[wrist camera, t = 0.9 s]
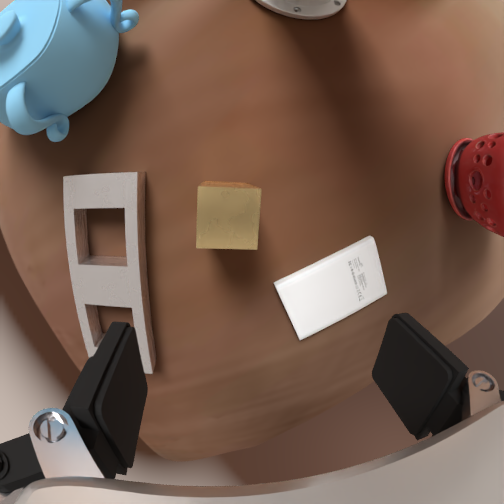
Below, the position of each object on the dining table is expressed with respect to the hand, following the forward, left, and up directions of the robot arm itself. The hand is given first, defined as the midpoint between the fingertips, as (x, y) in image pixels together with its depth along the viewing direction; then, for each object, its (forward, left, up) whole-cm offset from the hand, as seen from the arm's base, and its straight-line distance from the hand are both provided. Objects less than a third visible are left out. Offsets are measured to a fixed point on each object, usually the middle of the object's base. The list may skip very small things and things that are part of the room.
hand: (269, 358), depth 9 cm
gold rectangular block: (-3, -1, -20) cm, 20 cm away
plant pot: (-10, +32, -20) cm, 39 cm away
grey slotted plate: (+5, -13, -20) cm, 24 cm away
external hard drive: (+6, +12, -21) cm, 25 cm away
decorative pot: (-19, -20, -20) cm, 34 cm away
